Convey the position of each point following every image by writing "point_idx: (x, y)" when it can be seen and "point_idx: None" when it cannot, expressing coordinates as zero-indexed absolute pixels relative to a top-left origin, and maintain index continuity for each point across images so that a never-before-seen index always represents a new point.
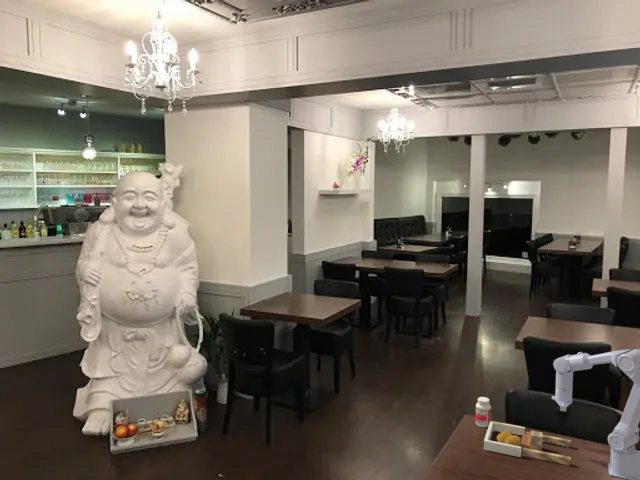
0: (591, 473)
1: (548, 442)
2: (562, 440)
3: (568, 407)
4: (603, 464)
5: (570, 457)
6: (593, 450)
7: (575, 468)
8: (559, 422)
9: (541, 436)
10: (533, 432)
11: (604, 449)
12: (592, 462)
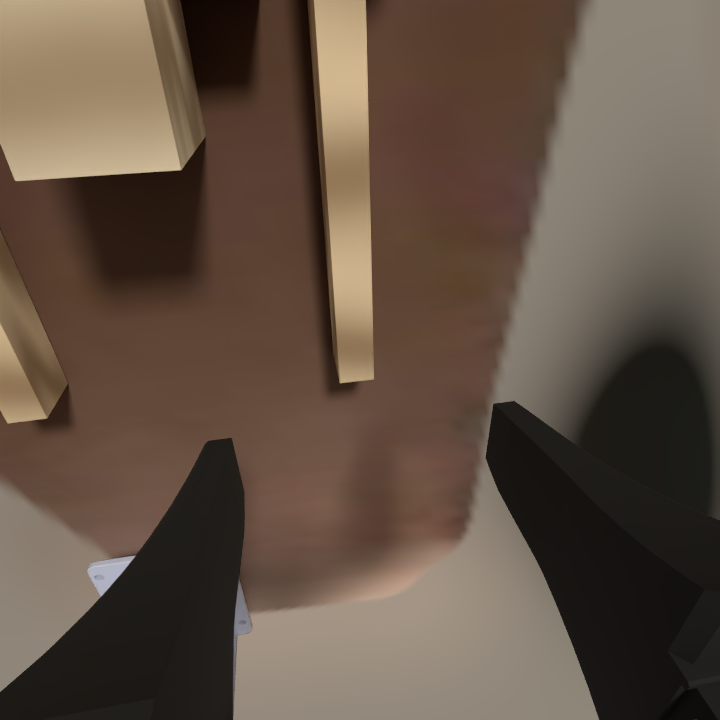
0: (36, 495)
1: (321, 191)
2: (335, 325)
3: (564, 620)
4: None
5: (38, 418)
6: (370, 466)
7: None
8: (188, 481)
9: (39, 170)
10: (86, 25)
11: (412, 504)
12: None
